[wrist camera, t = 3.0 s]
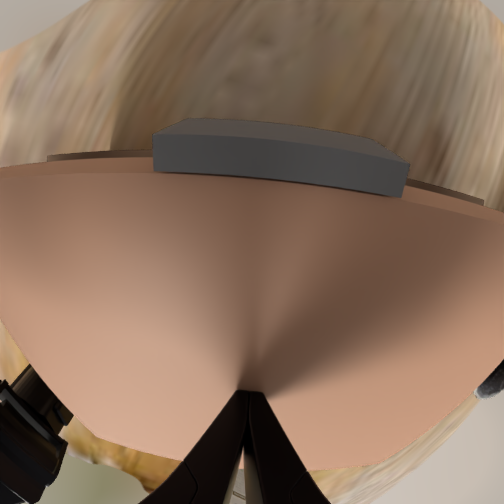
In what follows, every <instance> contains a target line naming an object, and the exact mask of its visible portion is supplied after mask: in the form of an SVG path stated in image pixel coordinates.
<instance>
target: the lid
mask: <svg viewBox="0 0 504 504" xmlns="http://www.w3.org/2000/svg"><path fill="white" fill-rule="evenodd" d="M152 142H153V157H127V158H96V159H78V160H64V161H52V162H42V163H33V164H24V165H16V166H9V167H2V168H0V319H1V321H2V322H3V324H4V326H5V327H6V329H7V330H8V332H9V334H10V335H11V337H12V338H13V340H14V341H15V343H16V344H17V346H18V347H19V349H20V350H21V352H22V353H23V354H24V356H25V357H26V359H27V360H28V361H29V363H30V364H31V365H32V367H33V368H34V369H35V371H36V372H37V373H38V375H39V376H40V377H41V378H42V380H43V381H44V382H45V383H46V384H47V386H48V387H49V388H50V389H51V390H52V392H53V393H54V394H55V395H56V396H57V397H58V398H59V399H60V401H61V402H62V403H63V404H64V405H65V406H66V407H67V408H68V409H69V410H70V411H71V412H72V413H73V414H74V416H75V417H76V418H77V419H78V420H79V421H80V422H81V423H82V424H83V425H85V426H86V427H87V428H88V429H89V430H90V431H91V432H92V433H93V434H94V435H95V436H96V437H98V438H101V439H104V440H107V441H110V442H113V443H116V444H119V445H122V446H125V447H128V448H132V449H135V450H139V451H142V452H146V453H150V454H154V455H158V456H162V457H166V458H171V459H176V460H181V461H183V459H184V458H185V457H186V456H187V454H188V453H189V452H190V451H191V449H192V448H193V447H194V445H195V444H196V443H197V442H198V440H199V439H200V438H201V436H202V435H203V434H204V433H205V431H206V430H207V429H208V427H209V426H210V425H211V423H212V422H213V421H214V419H215V418H216V417H217V415H218V414H219V413H220V411H221V410H222V408H223V407H224V406H225V404H226V403H227V402H228V400H229V399H230V397H231V396H232V395H233V393H234V392H235V391H236V390H247V391H249V392H250V391H258V392H263V393H264V395H265V397H266V399H267V401H268V402H269V404H270V406H271V408H272V410H273V412H274V413H275V415H276V417H277V419H278V421H279V422H280V424H281V426H282V428H283V430H284V431H285V433H286V435H287V437H288V438H289V440H290V442H291V443H292V445H293V447H294V449H295V450H296V452H297V454H298V455H299V457H300V459H301V461H302V462H303V464H304V466H305V467H306V469H307V471H311V470H329V469H340V468H350V467H358V466H365V465H372V464H378V463H381V462H383V461H384V460H386V459H388V458H389V457H391V456H392V455H394V454H395V453H397V452H399V451H400V450H402V449H403V448H405V447H406V446H407V445H409V444H410V443H412V442H413V441H415V440H416V439H417V438H419V437H420V436H422V435H423V434H424V433H426V432H427V431H428V430H429V429H431V428H432V427H433V426H435V425H436V424H437V423H438V422H440V421H441V420H442V419H443V418H444V417H446V416H447V415H448V414H449V413H450V412H452V411H453V410H454V409H455V408H456V407H457V406H458V405H459V404H461V403H462V402H463V401H464V400H465V399H466V398H467V397H468V396H469V395H470V394H471V393H472V392H473V391H474V390H475V389H476V388H477V387H478V386H479V385H480V384H481V383H482V382H483V381H484V380H485V379H486V378H487V377H488V376H489V375H490V374H491V373H492V372H493V371H494V369H495V368H496V367H497V366H498V365H499V364H500V363H501V362H502V360H503V359H504V213H503V212H500V211H497V210H494V209H491V208H488V207H485V206H481V205H478V204H475V203H471V202H468V201H465V200H461V199H457V198H454V197H450V196H446V195H443V194H439V193H435V192H431V191H427V190H423V189H419V188H414V187H410V186H405V183H406V179H407V175H408V171H409V167H410V164H409V163H408V162H406V161H405V160H403V159H402V158H400V157H399V156H397V155H396V154H394V153H393V152H391V151H390V150H388V149H387V148H385V147H383V146H382V145H380V144H379V143H377V142H375V141H374V140H372V139H369V138H365V137H360V136H355V135H350V134H345V133H340V132H334V131H328V130H322V129H316V128H310V127H302V126H295V125H287V124H278V123H269V122H258V121H245V120H229V119H202V118H187V119H185V120H183V121H180V122H178V123H176V124H174V125H171V126H169V127H167V128H165V129H163V130H161V131H159V132H157V133H155V134H153V135H152ZM239 469H244V463H243V452H242V457H241V461H240V465H239Z"/></svg>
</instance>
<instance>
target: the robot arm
mask: <svg viewBox="0 0 504 504" xmlns="http://www.w3.org/2000/svg"><path fill="white" fill-rule="evenodd" d="M8 384H9V383H8V382H7V381H6V380H5V379H4V380H3V381H1V380H0V400H1V401H2V402H1V403H0V504H21V503H24V502H27V503H29V504H34V503H36V502H38V501H39V500H40V498H41V496H42V494H43V491H44V489H45V487H48V486H49V485H51V484H52V483H53V482H54V481H55V479H56V478H57V476H58V474H59V471H60V467H61V464H62V461H63V458H64V455H65V452H66V449H67V446H68V442H67V441H65V440H64V439H62V438H61V437H60V436H58V434H59V433H60V431H61V429H62V428H63V426H64V425H65V426H67V425H68V424H69V423H70V421H71V419H72V418H73V416H74V414H73V413H72V412H71V411H70V410H69V409H68V408H67V407H66V406H65V405H64V404H63V403H62V402H61V401H60V399H59V398H58V397H57V396H56V395H55V394H54V393H53V392H52V390H51V389H50V388H49V387H48V386H47V384H46V383H45V382H44V381H43V380H42V378H41V377H40V376H39V375H38V373H37V372H36V371H35V369H34V368H33V367H32V365H31V364H29V365H28V366H27V367H26V368H25V369H24V370H23V372H22V373H21V374H20V375H19V376H18V377H17V378H16V380H15V381H14V382H13V383H12V384H11V385H10V386H9V385H8ZM242 452H243V463H244V480H245V497H246V504H331V503H330V502H329V501H328V499H327V498H326V497H325V496H324V494H323V493H322V492H321V490H320V489H319V488H318V486H317V485H316V483H315V482H314V480H313V478H312V477H311V475H310V474H309V472H308V471H307V469H306V467H305V466H304V464H303V462H302V461H301V459H300V457H299V455H298V454H297V452H296V450H295V449H294V447H293V445H292V443H291V442H290V440H289V438H288V437H287V435H286V433H285V431H284V430H283V428H282V426H281V424H280V422H279V421H278V419H277V417H276V415H275V413H274V412H273V410H272V408H271V406H270V404H269V402H268V401H267V399H266V397H265V395H264V393H263V392H258V391H250V392H249V391H247V390H236V391H235V392H234V393H233V395H232V396H231V397H230V399H229V400H228V402H227V403H226V404H225V406H224V407H223V408H222V410H221V411H220V413H219V414H218V415H217V417H216V418H215V419H214V421H213V422H212V423H211V425H210V426H209V427H208V429H207V430H206V431H205V433H204V434H203V435H202V436H201V438H200V439H199V440H198V442H197V443H196V444H195V445H194V447H193V448H192V449H191V451H190V452H189V453H188V454H187V456H186V457H185V458H184V459H183V461H182V462H181V463H180V464H179V465H178V466H177V468H176V469H175V470H174V471H173V472H172V473H171V475H170V476H169V477H168V478H167V479H166V480H165V481H164V482H163V483H162V484H161V485H160V486H159V487H157V488H156V489H155V490H154V491H153V492H152V493H151V494H149V495H148V496H147V497H146V498H145V499H143V500H142V501H141V502H140V503H138V504H229V503H230V499H231V496H232V492H233V488H234V484H235V481H236V477H237V473H238V469H239V465H240V461H241V457H242ZM306 471H307V472H306Z"/></svg>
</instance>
